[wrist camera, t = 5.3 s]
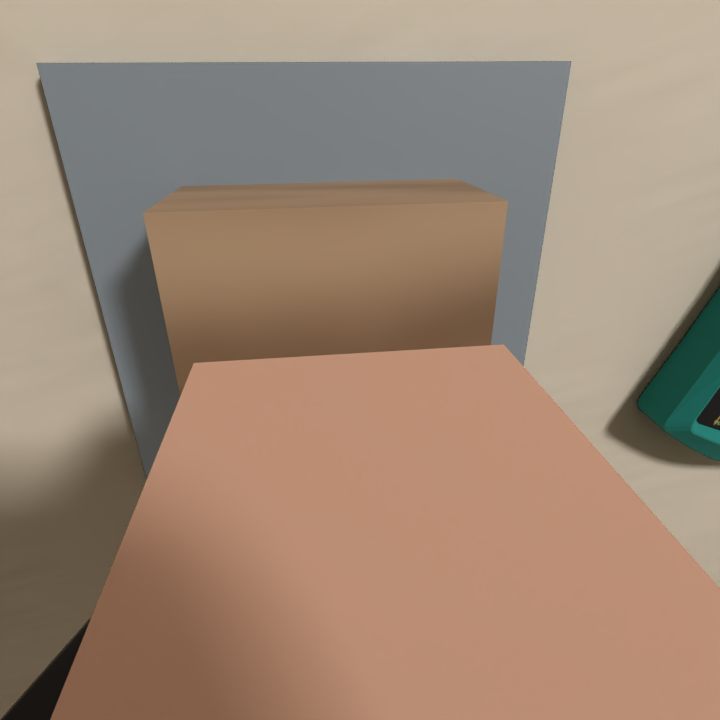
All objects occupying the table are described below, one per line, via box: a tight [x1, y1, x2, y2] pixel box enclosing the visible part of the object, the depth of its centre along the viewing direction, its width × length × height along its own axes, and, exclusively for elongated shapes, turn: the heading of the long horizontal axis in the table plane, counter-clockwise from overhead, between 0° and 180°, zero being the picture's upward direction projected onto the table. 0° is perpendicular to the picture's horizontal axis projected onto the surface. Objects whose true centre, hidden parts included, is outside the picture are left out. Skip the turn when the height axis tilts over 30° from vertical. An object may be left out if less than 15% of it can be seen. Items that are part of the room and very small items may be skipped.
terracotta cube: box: [50, 344, 720, 720], centre depth 6 cm, size 5×5×6 cm
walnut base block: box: [143, 179, 508, 396], centre depth 14 cm, size 8×8×4 cm
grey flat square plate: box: [37, 61, 571, 479], centre depth 16 cm, size 14×14×1 cm
